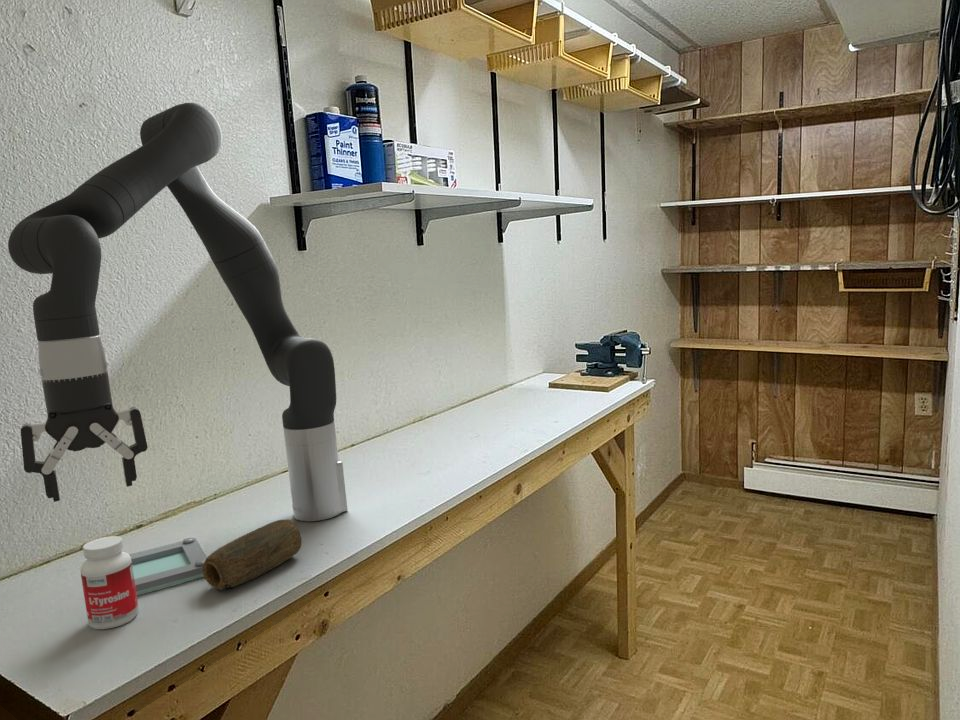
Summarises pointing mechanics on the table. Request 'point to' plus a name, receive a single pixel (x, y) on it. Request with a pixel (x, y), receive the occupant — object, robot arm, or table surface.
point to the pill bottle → (108, 583)
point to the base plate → (167, 565)
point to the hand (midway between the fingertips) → (93, 492)
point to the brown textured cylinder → (252, 554)
